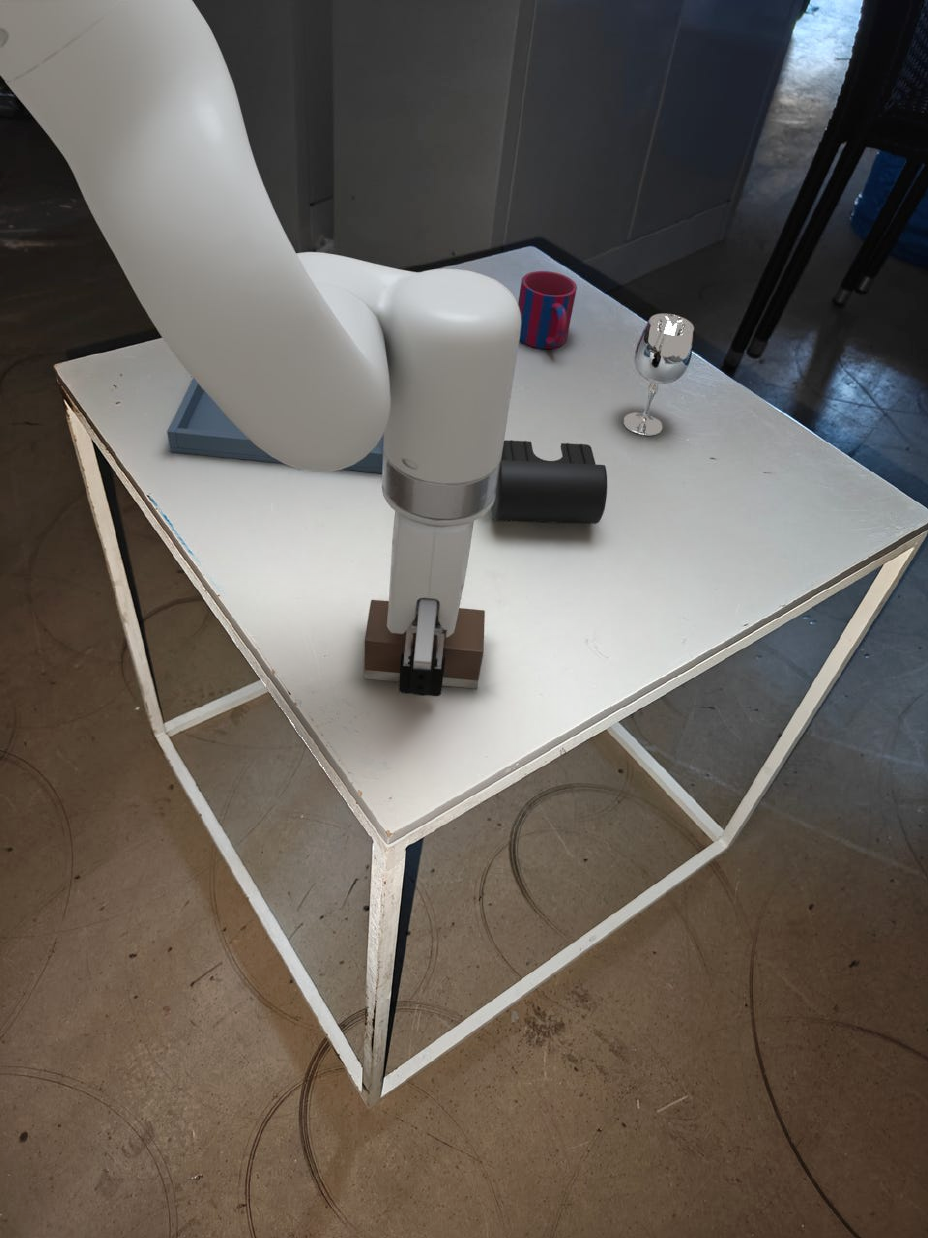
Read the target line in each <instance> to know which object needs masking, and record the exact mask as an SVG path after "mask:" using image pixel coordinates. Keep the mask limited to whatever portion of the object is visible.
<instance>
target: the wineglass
mask: <svg viewBox="0 0 928 1238" xmlns="http://www.w3.org/2000/svg"><path fill="white" fill-rule="evenodd" d="M694 340H695V326H694V324H693V322H691V321H690V320H688V319H687V318H685V317H682V316H680V315H676V314H672V313H656V314H654V315H652V316H651V317H650V318H649V319H648V320H647V323H646V324H645V326H644V328H643V330H642V332H641V334H640V336H639V339H638V342H637V344H636V347H635V351H634V366H635V369H636V371H637V373H638V374H639V375H640V377H642V378H643V379H644V380H646V381H648V382H650V383H649V385H648V387H647V388H648V390H647V401H646V405H645V408H644V411H643V412H641V411H639V412H637V411H635V412H630V413H628V414H626V415H625V416H624V417H623V420H622V423H623V425H624V427H625V428H626V429H627V430H629V431H630V432H632V433H634V434H637V435H640V436H644V437H646V436H647V437H650V436H651V437H652V436H656V435H658V434H660V433H661V432H663V431H662V430H663V423H662V421H661V420H660V419H658V418H657V417H656V416H654V415H652V414H650V413H649V412H650V408H651V405H652V401H653V399H654V397H655V396H656V394H657V392H658V390H659V385H667V384H671V383H674V382H676V381H678V380H680V378H681V377H683V376H684V374H685V373H686V371H687V369H688V367H689V366H690V363H691V361H692V355H693V349H694V343H695V342H694Z"/></svg>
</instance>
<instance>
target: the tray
mask: <svg viewBox="0 0 928 1238" xmlns="http://www.w3.org/2000/svg"><path fill="white" fill-rule="evenodd" d="M166 433H167V438H168V444H169V451H170V452H171V453H178V454H187V455H188V454H189V455H198V456H208V457H218V458H227V459H228V458H229V459H236V460H237V459H238V460H247V461H248V460H249V461H258V462H267V463H277V464H284V463H283V462H281V461H279V460H277V459H275V458H273V457H271V456H270V455H269V454H267V453H266V452H265V451H263V450H262V449H261V448H259V447H258V446H257V445H255V444H254V443H253V442H252V441H251V440H250V439H249V438H248V437H247V436H245V435H244V434H243V433H242V432H241V431H240V430H239V429H238V428H237V427H236V425H235V424H234V423H233V422H232V421H231V420H230V419H229V418H228V417H227V416H226V414H225V413H224V412H223V411H222V410H221V409H220V408H219V407H218V405H217V404H216V403H215V402H214V401H213V400H212V399H211V397H210V396H209V395H208V394H207V393H206V392H205V391H204V390H203V388H202V387H201V386H200V385H199V383H198V382H197V381H196V380H195V379H194V378H193V377H192V380H191V381H190V383H189V386H188V387H187V390H186V391H185V394H184V396H183V398H182V400H181V401H180V404H179V405H178V408H177V410H176V412H175V414H174V417H173V418H172V420H171V422H170V425H169V426H168V429H167V431H166ZM383 444H384V433H383V436H382V437H381V439H380V441H379V442H378V444H377V445H376V447H375V448H374V449H373V450H372V451H371V452H370V453H369V454H368V455H367V456H366V457H365V458H363V459H362V460H360V461H359V462H357V463H356V464H354V465H351V466H349V467H346V468H344V469H343V470H344V471H345V470H346V471H355V472H364V473H375V474H382V466H383Z"/></svg>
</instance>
